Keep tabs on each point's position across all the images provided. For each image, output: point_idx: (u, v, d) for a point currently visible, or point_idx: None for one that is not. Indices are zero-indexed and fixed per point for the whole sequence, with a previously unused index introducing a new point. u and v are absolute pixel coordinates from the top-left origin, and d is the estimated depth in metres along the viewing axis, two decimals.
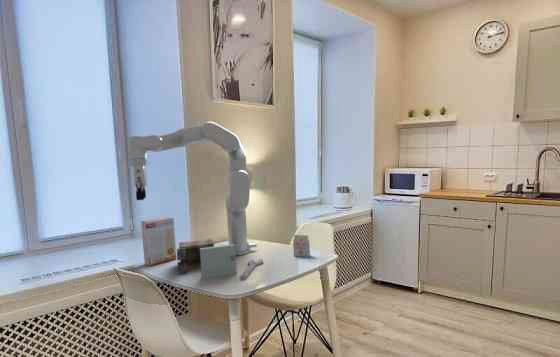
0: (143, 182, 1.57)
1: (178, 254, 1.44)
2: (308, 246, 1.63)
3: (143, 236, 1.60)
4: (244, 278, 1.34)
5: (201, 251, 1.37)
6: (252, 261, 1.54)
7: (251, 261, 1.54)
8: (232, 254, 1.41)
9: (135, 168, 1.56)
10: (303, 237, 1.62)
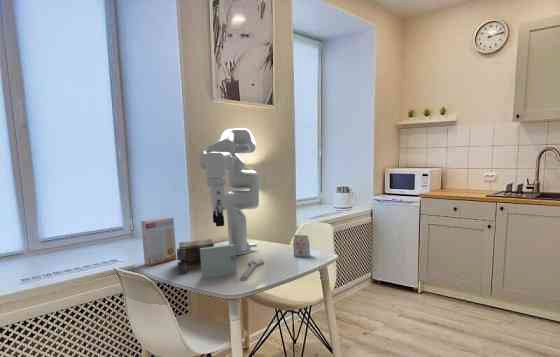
0: (223, 205, 1.35)
1: (178, 254, 1.44)
2: (308, 246, 1.63)
3: (143, 236, 1.60)
4: (245, 279, 1.33)
5: (201, 251, 1.37)
6: (253, 261, 1.54)
7: (252, 261, 1.54)
8: (232, 254, 1.41)
9: (214, 189, 1.34)
10: (303, 237, 1.62)
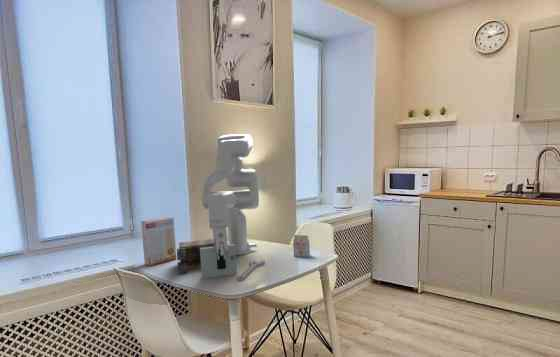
0: (226, 247, 1.36)
1: (178, 254, 1.44)
2: (308, 246, 1.63)
3: (143, 236, 1.60)
4: (242, 279, 1.33)
5: (201, 251, 1.37)
6: (253, 262, 1.53)
7: (252, 262, 1.53)
8: (232, 254, 1.41)
9: (217, 232, 1.35)
10: (303, 237, 1.62)
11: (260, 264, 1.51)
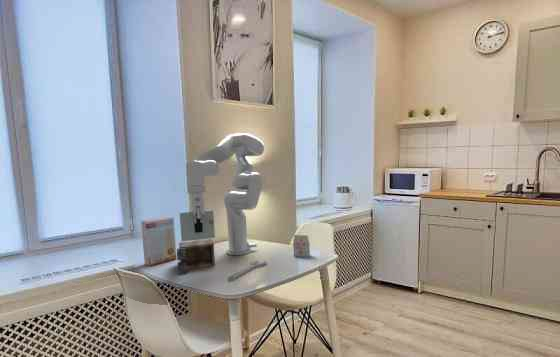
0: (202, 211, 1.44)
1: (178, 254, 1.44)
2: (308, 246, 1.63)
3: (143, 236, 1.60)
4: (231, 279, 1.33)
5: (180, 215, 1.45)
6: (255, 262, 1.52)
7: (254, 262, 1.53)
8: (210, 218, 1.49)
9: (194, 196, 1.43)
10: (303, 237, 1.62)
11: (260, 265, 1.50)
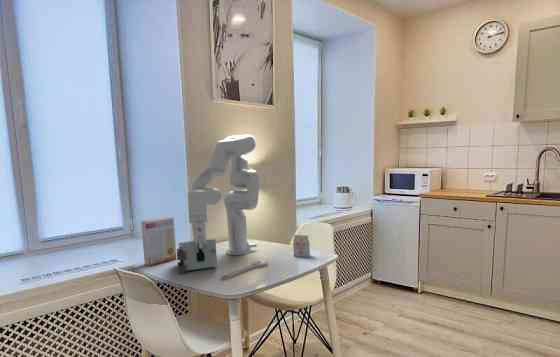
0: (204, 241, 1.44)
1: (178, 254, 1.44)
2: (308, 246, 1.63)
3: (143, 236, 1.60)
4: (223, 278, 1.35)
5: (183, 245, 1.46)
6: (256, 262, 1.52)
7: (255, 262, 1.52)
8: (213, 247, 1.49)
9: (196, 226, 1.44)
10: (303, 237, 1.62)
11: (259, 266, 1.49)
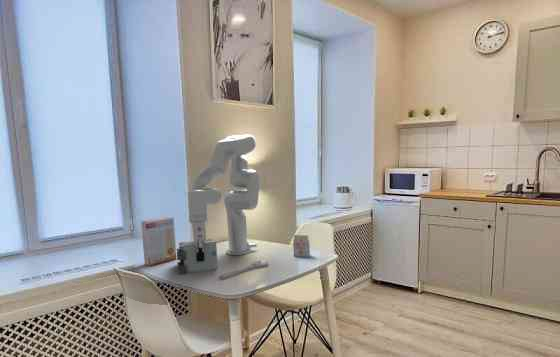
0: (204, 241, 1.44)
1: (178, 254, 1.44)
2: (308, 246, 1.63)
3: (143, 236, 1.60)
4: (221, 278, 1.35)
5: (184, 247, 1.46)
6: (256, 263, 1.51)
7: (255, 262, 1.52)
8: (213, 250, 1.49)
9: (196, 226, 1.43)
10: (303, 237, 1.62)
11: (259, 266, 1.48)
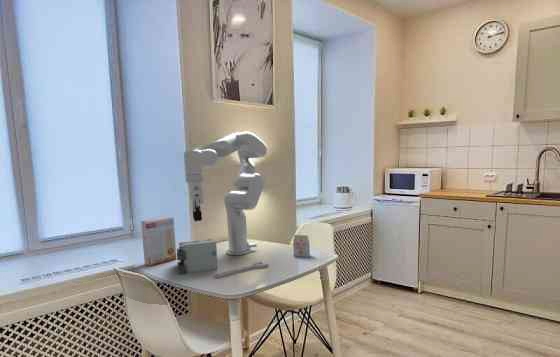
0: (201, 200, 1.46)
1: (178, 254, 1.44)
2: (308, 246, 1.63)
3: (143, 236, 1.60)
4: (216, 277, 1.37)
5: (184, 247, 1.46)
6: (256, 263, 1.51)
7: (256, 263, 1.51)
8: (213, 250, 1.49)
9: (193, 185, 1.45)
10: (303, 237, 1.62)
11: (258, 267, 1.47)
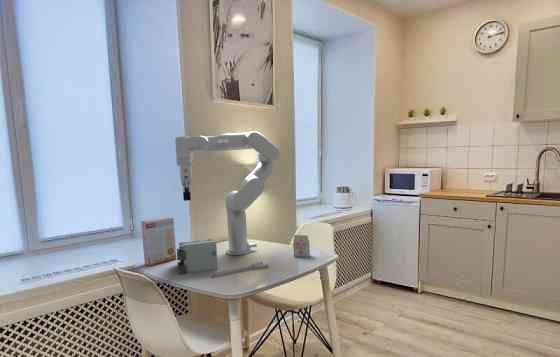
0: (190, 181, 1.61)
1: (178, 254, 1.44)
2: (308, 246, 1.63)
3: (143, 236, 1.60)
4: (212, 275, 1.39)
5: (184, 247, 1.46)
6: (256, 263, 1.50)
7: (256, 263, 1.51)
8: (213, 250, 1.49)
9: (182, 167, 1.60)
10: (303, 237, 1.62)
11: (257, 267, 1.47)
